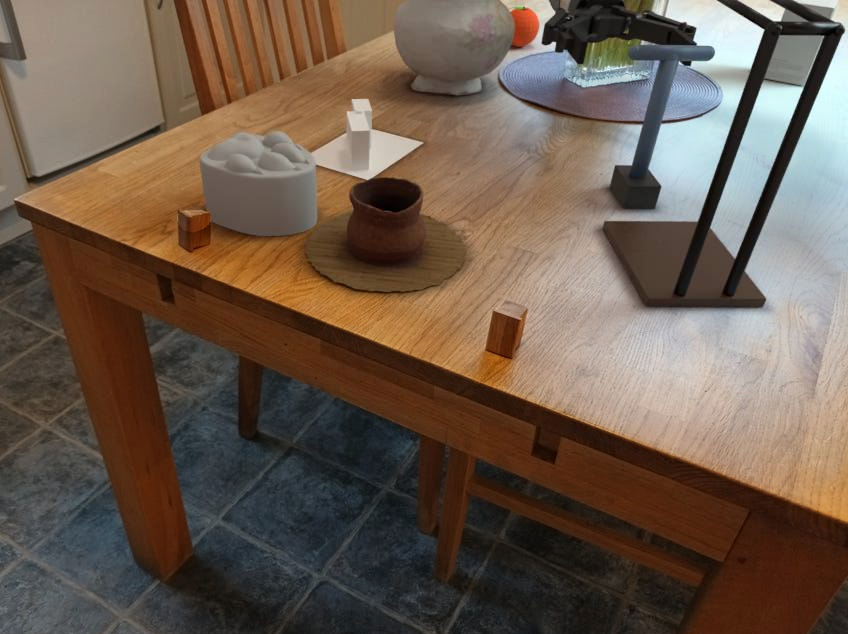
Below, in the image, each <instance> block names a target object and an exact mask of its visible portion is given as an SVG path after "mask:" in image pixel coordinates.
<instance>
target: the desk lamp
mask: <svg viewBox="0 0 848 634" xmlns="http://www.w3.org/2000/svg"><path fill="white" fill-rule="evenodd" d="M716 1H717V2H719V3H720V4H722V5H724V6H725V7H727V8H728V9H730V10H731V11H733V12H734V13H736V14H738V15H740V16H741V17H743V18H744V19H746V20H748V21H749V22H751V23H752V24H754V25H755V26H757V27H759V28H760V29H762V30H763V33H762V35H761V38H760V41H759V44H758V47H757V50H756V53H755V56H754V59H753V61H752V63H751V67H750V70H749V73H748V76H747V79H746V81H745V83H744V84H745V85H744V87H743V89H742V93H741V96H740V99H739V102H738V105H737V107H736V110H735V113H734V116H733V119H732V121H731V125H730V128H729V131H728V133H727V136H726V138H725V142H724V145H723V147H722V150H721V154H720V156H719V160H718V163H717V164H716V167H715V171H714V173H713V177H712V179H711V182H710V185H709V188H708V191H707V194H706V196H705V200H704V202H703V205H702V208H701V211H700V214H699V217H698V220H697V221H685V220H683V221H682V220H681V221H679V220H678V221H675V220H674V221H672V220H671V221H670V220H669V221H668V220H663V221H662V220H647V221H646V220H604V221H603V224H602V230H603V233H605V236H606V237H607V239H608V241H609V242H610V244H611V246H612V248H613V249H614V251H615V254H616V255H617V257H618V259H619V260H620V262H621V263H622V266H623V268H624V269H625V271H626V273H627V275H628V276H629V278H630V280H631V281H632V283H633V286H634V287H635V289H636V291H637V292H638V294H639V296H640V298H641V300H642V302H643V303H644V305H645V307H726V308H727V307H729V308H730V307H732V308H733V307H734V308H735V307H737V308H738V307H739V308H740V307H744V308H745V307H746V308H747V307H750V308H751V307H753V308H756V307H757V308H758V307H759V308H760V307H761V308H762V307H764V306H765V305H766V301H767V297H766V296H765V295H764V294H763V292H762V291H761V290H760V288H759V287H758V285H756V283H755V282H754V281H753V280H752V278H751V277H750V276H749V275H748V274H747V272H746V269H747V266H748V264H749V262H750V260H751V257H752V254H753V252H754V250H755V248H756V245H757V243H758V240H759V237H760V235H761V233H762V230H763V228H764V227H765V226H764V225H765V223H766V222H767V218H768V216H769V213H770V211H771V208H772V206H773V204H774V201H775V199H776V198H777V197H776V196H777V194H778V192H779V190H780V187H781V185H782V182H783V180H784V177H785V175H786V172H787V170H788V167H789V165H790V163H791V160H792V157H793V155H794V153H795V151H796V148H797V146H798V143H799V141H800V139H801V136H802V134H803V131H804V129H805V126H806V125H807V123H808V122H807V121H808V119H809V117H810V114H811V112H812V110H813V107H814V105H815V102H816V100H817V98H818V95H819V92H820V90H821V89H822V88H821V87H822V85H823V83H824V81H825V78H826V76H827V73H828V71H829V69H830V66H831V64H832V61H833V59H834V57H835V54H836V52H837V49H838V47H839V44H840V42H841V40H842V37H843V35H844V34H845V32H846V27H845V26H844V25H843V24H842V22H840V21H834V20H833V19H832V20H831V19H829V18H827V17H825V16H823V15H821V14H819V13H817V12H815V11H813V10H811V9H809V8H807V7H805V6H803V5H801V4H799V3H797V2H796V1H794V0H769V1H770V2H772V3H774V4H775V5H777V6H779V7H780V8H783V9H784V10H785V9H786V10H788V11H790V12H792V13H794V14H796V15H798V16H799V17H801V18H803V19H805V20H807V21H809V22H794V21H781V20H773V19H771V18H770V17H767V16H765V15H764V14H762V13H760V12H759V11H757V10H755V9H754V8H753V7H751V6H749V5H747V4H745V3H743V2H742V1H740V0H716ZM780 35H791V36H824V38H823V40H822V43H821V45H820V48H819V50H818V53H817V55H816V58H815V60H814V63H813V65H812V68H811V70H810V73H809V75H808V77H807V79H806V81H805V83H804V85H803V88H802V91H801V93H800V96H799V98H798V100H797V102H796V103H797V104H796V106H795V109H794V110H793V113H792V117H791V118H790V120H789V123H788V126H787V128H786V130H785V133H784V136H783V138H782V140H781V143H780V145H779V147H778V151H777V153H776V156H775V158H774V161H773V163H772V166H771V168H770V171H769V174H768V175H767V178H766V181H765V183H764V185H763V188H762V191H761V193H760V195H759V199H758V201H757V203H756V206H755V208H754V210H753V214H752V216H751V218H750V221H749V223H748V225H747V229H746V231H745V233H744V236H743V238H742V240H741V243H740V246H739V249H738V251H737V253H736V256H735V257H734V256H733V254H732V253H731V252H730V250H728V248H727V247H726V245H724V243H723V242H722V241H721V239H720V238H719V237H718V236H717V235H716V233H715V232H714V231H713V229H712V228H711V226H712V224H713V220H714V218H715V215H716V213H717V209H718V207H719V204H720V201H721V199H722V196H723V194H724V190H725V187H726V185H727V182H728V180H729V177H730V174H731V171H732V168H733V166H734V162H735V161H736V157H737V154H738V152H739V149H740V146H741V144H742V141H743V138H744V135H745V132H746V129H747V127H748V124H749V122H750V119H751V115H752V113H753V110H754V108H755V105H756V103H757V100H758V97H759V94H760V91H761V88H762V86H763V83H764V80H765V78H764V77H765V74H766V72H767V69H768V66H769V63H770V61H771V58H772V55H773V52H774V50H775V47H776V44H777V41H778V39H779V36H780Z"/></svg>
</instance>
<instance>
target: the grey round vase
mask: <svg viewBox="0 0 848 634" xmlns="http://www.w3.org/2000/svg"><path fill="white" fill-rule="evenodd" d="M508 9H509V8H508V7H507V6H506V4H504V2H503V1H502V0H405V1H404V2H403V3H401V4H400V5H399V6H398V8H397V10H396V12H395V17H394V22H393V35H394V42H395V47H396V49H397V51H398V54H399V56H400V59H401V60H402V61H403V63H404V64H405V65H406V67H407V68H408V69H410V70H411V71H412V72H414V73H415V74H417V76H416V78H415V79H414V80H413V81H412V83H411V84H410V87H411V89H412V90H413V91H416V92H421V93H423V92H424V93H440V94H447V95H452V96H467V95H471V94H475V93H480V92H482V89H483V87H482V82H481V79H480V77H484V76H487V75H489V74H490V73H492V72H494V70H496V69H497V68H498V67H499V66H500V65H501V64H502V62H504V59H505V58H506V56H507V55H508V53H509V51H510V49H511V46H512V45H511V44H512V41H513V37H514V30H515V23H514V19H513V17H512V15H511V13H510V12H511V11H510V9H509V10H508Z"/></svg>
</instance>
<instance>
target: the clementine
mask: <svg viewBox="0 0 848 634" xmlns="http://www.w3.org/2000/svg"><path fill="white" fill-rule="evenodd" d="M511 9H513V10H511ZM508 10H509V11H510V10H511V11H510V13H511V15H512V17H513V19H514V23H515V30H514V37H513V41H512V44H511V46H514V47H517V48H522V47H526V46H528V45H529V44H532V42H533V41H535V39H536V37H537V36H538V34H539V32H540V31H539V30H540V20H539V17H538V15H537V14H536V12H535V11H533V9H532V8H528V7H526V6H513V7H510V8H508Z"/></svg>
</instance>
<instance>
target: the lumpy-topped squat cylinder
mask: <svg viewBox="0 0 848 634" xmlns="http://www.w3.org/2000/svg"><path fill="white" fill-rule="evenodd" d="M311 153H312V152H310V151H308V149H306V148H304V147H303V146H302V145H300V144H298V143H294V142H293V139H291V137H290V136H289V135H287V133H285V132H282V131H279V130H275V131H274V130H273V131H270V132H268V133H267V134H266V135H261V134H251V133H248V132H245V131H240V132H239V131H238V132H236V133H233V134H232V136H230V137H228V138H226V139H225V140H224V141H222V142H219V143H217V144H215V145H214V146H213V147H212V148H210V149H207V150H205V151H203V152H202V153H201V154H200V155H199V168H200V175H201V182H202V189H203V197H204V204H205V211H206V210H207V211H209V212H210V213H211V220H209V221H210V222H212V223H213V224H215V225H218V226H220V227H223V228H226V229H229V230H231V231H234V232H238V233H243V234H247V235H251V236H256V237H284V236H285V237H286V236H291V235H296V234H300V233H305V232H308V231H309V230H311V229H313V228H314V227H315V226H316V225H317V223H318V196H317V194H318V191H317V165H316V162H315V159H314V157H313V155H312V154H311Z"/></svg>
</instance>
